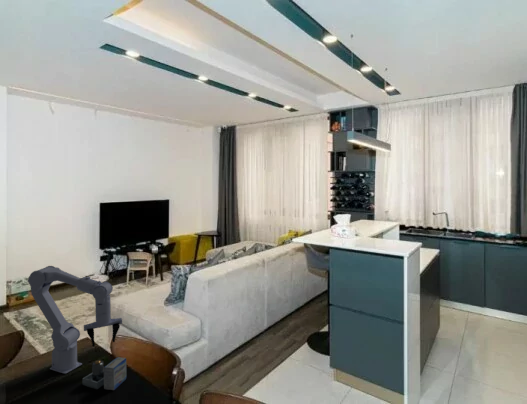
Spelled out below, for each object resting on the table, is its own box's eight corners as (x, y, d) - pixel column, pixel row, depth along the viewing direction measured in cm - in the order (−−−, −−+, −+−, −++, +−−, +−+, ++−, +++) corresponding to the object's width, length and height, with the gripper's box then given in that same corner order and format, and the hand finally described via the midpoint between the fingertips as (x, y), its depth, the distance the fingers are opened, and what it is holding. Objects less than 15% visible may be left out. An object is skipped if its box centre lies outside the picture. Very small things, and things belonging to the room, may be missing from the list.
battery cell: (90, 383, 125) (90, 364, 125) (95, 377, 129) (95, 358, 129) (100, 383, 125) (100, 364, 125) (105, 377, 129) (105, 358, 129)
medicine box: (113, 391, 122) (113, 368, 121) (103, 389, 123) (103, 367, 122) (126, 379, 129) (126, 357, 129) (117, 377, 130) (116, 356, 130)
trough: (82, 384, 125) (82, 378, 125) (99, 374, 132) (99, 368, 132) (97, 389, 122) (96, 383, 122) (113, 378, 129) (113, 372, 129)
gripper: (120, 305, 144) (120, 335, 144) (83, 312, 136) (83, 343, 137) (122, 310, 138) (123, 342, 138) (83, 317, 130) (84, 350, 131)
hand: (103, 343), depth 137 cm, fingers open, 7 cm apart
